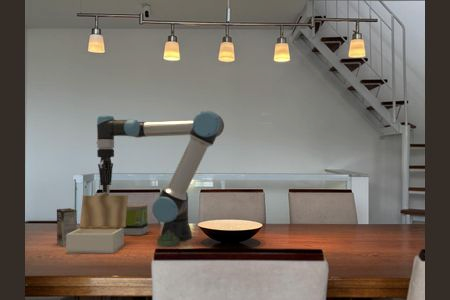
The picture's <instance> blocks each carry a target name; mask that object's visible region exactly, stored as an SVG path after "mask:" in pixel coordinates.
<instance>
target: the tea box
mask: <svg viewBox="0 0 450 300" xmlns="http://www.w3.org/2000/svg"><path fill="white" fill-rule="evenodd" d="M148 226H149V225H148V205H147V204H127V215H126V227H124V236H143V235H145V234H146V233H147V232H148Z"/></svg>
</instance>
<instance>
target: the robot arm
mask: <svg viewBox="0 0 450 300" xmlns="http://www.w3.org/2000/svg"><path fill="white" fill-rule="evenodd" d="M96 123H97V124H96V130H97V134H96V135H97V141H96V144H97V145H96V146H97V150H96V152H97V158H100V161H99V163H98V164H97V167H98V173H99V182H100V183H99V185H100V186H102V194H109V195H110V186H111V185H112V179H113V178H112V177H113V167H114V163H112V160H111V158H114V157H115V150H114V149H115V137H132V138H145V137H146V138H147V137H169V136H170V137H171V136H172V137H174V136H175V137H176V136H189V138H190V139H189V141H188V144H187V145H186V148H185V150H184V151H183V154H182V156H181V158H180V161H179V163H178V164H177V167H176V169H175V171H174V173H173V175H172V177H171V179H170V181H169V184H168V186H165V187H163V188H162V190H161V192H160V194H159V196H158V197H157V198H156V199H155V200H154V202H153V203H152V207H151V211H152V215H153V216H154V218H155V219H156V220H157V221H159V222H160V223H163V226H162V230H161V232H160V235H163V234H164V233H165V231H168V229H169V231H171V233H174V234H175V236H177V237H178V238H179V242H180V241H181V242H182V241H187V240H188V241H189V240H190V239H192V237H193V233H192V228H191V226H190V224H189V196H188V194H189V193H188V192H187V191H188V189H189V186H190V185H191V183H192V181H193V179H194V177H195V174H196V172H197V171H198V168H199V166H200V164H201V162H202V160H203V157H204V156H205V154H206V151H207V150H208V148H209V147H211V146H213V145H214V142H215V141H216V139H217V137H219V136H221V134H223V131H224V128H225V123H224V120H223V118H222V117H221V115H219V114H217V113H216V112H215V111H212V110H201V111H200V112H198V113H196V115H195V116H194V117H193V119H175V120H174V119H173V120H155V121H154V120H152V121H138V120H137V119H131V118H129V119H115V118H114V116H113V115H99V116H98V117H97V120H96Z"/></svg>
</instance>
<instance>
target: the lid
mask: <svg viewBox="0 0 450 300" xmlns="http://www.w3.org/2000/svg"><path fill="white" fill-rule="evenodd" d="M128 196H129V195H127V194H125V195H123V194H121V195H110V193H109V194H103V193H101V194H100V195H82V199H81V200H82V201H81V202H82V203H81V210H80V211H81V213H80V221H79V229H120V228H123V229H124V227H126V215H127V205H128V198H129V197H128Z"/></svg>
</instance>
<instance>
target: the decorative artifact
mask: <svg viewBox="0 0 450 300" xmlns="http://www.w3.org/2000/svg"><path fill="white" fill-rule="evenodd" d="M156 240H157V241H156V244H157V246H158V247H161V248H171V247H172V248H173V247H177V246H179V245H180V241H179V238H178V237H177V236H175V234H174V233H171V231H169V229H168V231H165V233H164V234H163V235H161V234H160V235H158V238H156Z"/></svg>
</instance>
